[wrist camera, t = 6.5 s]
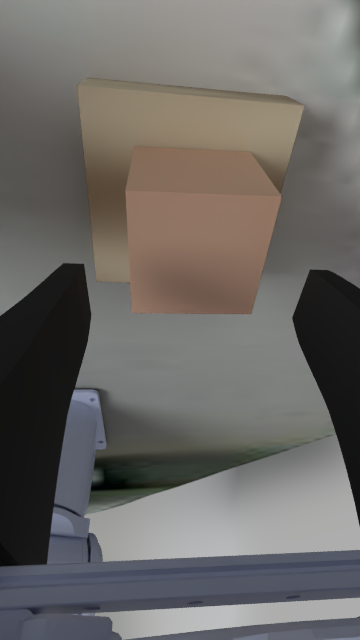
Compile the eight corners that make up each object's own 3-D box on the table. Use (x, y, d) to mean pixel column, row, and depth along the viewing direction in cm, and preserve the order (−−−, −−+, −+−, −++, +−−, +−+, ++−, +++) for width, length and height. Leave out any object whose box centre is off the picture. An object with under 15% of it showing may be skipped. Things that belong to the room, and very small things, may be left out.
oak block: (244, 260, 22) (254, 287, 19) (103, 254, 21) (96, 281, 19) (283, 94, 16) (304, 105, 14) (89, 76, 15) (76, 85, 13)
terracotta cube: (231, 253, 18) (251, 314, 14) (137, 250, 17) (131, 312, 14) (250, 151, 14) (281, 196, 11) (134, 146, 14) (125, 190, 10)
